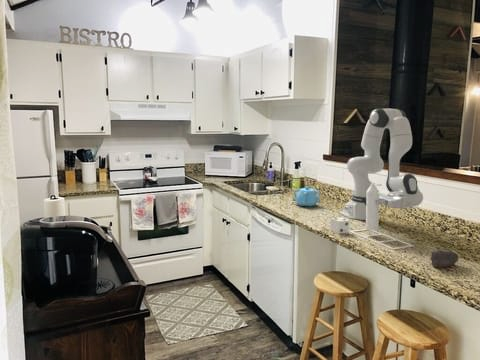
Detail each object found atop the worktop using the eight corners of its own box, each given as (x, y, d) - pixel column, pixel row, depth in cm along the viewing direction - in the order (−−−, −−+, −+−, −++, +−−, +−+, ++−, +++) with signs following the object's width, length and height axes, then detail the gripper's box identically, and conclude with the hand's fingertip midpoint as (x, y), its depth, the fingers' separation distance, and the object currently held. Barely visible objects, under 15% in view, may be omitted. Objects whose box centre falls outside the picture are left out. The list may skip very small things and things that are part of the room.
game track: (349, 231, 211) (349, 231, 211) (368, 229, 217) (368, 228, 217) (393, 249, 183) (393, 249, 183) (414, 246, 189) (414, 245, 189)
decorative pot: (322, 207, 270) (323, 188, 267) (302, 208, 264) (303, 189, 262) (310, 202, 285) (311, 184, 282) (291, 203, 279) (292, 185, 277)
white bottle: (363, 228, 206) (363, 182, 204) (372, 227, 209) (373, 181, 206) (374, 232, 199) (375, 184, 196) (384, 230, 201) (385, 183, 198)
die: (330, 230, 213) (331, 218, 212) (340, 229, 216) (341, 216, 215) (338, 234, 207) (339, 221, 206) (348, 232, 210) (349, 220, 208)
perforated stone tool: (452, 262, 169) (454, 247, 168) (462, 266, 164) (464, 251, 163) (425, 265, 165) (426, 250, 164) (434, 270, 160) (436, 254, 159)
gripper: (383, 190, 216) (361, 191, 212) (407, 197, 196) (384, 198, 193) (382, 201, 217) (360, 202, 213) (406, 209, 197) (383, 210, 194)
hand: (372, 200), depth 203 cm, fingers closed on white bottle, 6 cm apart
